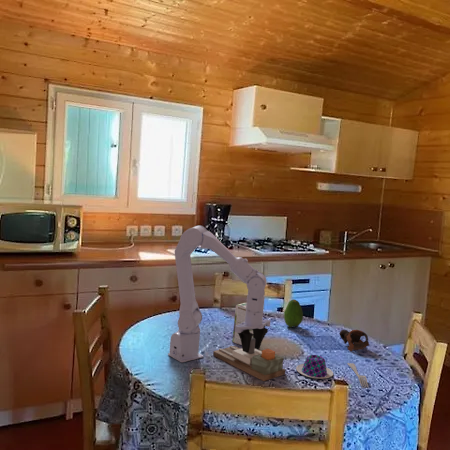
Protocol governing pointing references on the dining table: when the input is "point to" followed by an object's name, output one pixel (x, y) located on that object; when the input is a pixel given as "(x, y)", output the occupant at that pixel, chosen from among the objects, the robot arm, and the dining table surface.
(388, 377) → the dining table surface
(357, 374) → the fork
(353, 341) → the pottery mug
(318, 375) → the checkered hat
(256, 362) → the wooden base with block
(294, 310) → the avocado
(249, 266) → the robot arm
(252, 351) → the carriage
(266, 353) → the button
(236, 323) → the syrup box
